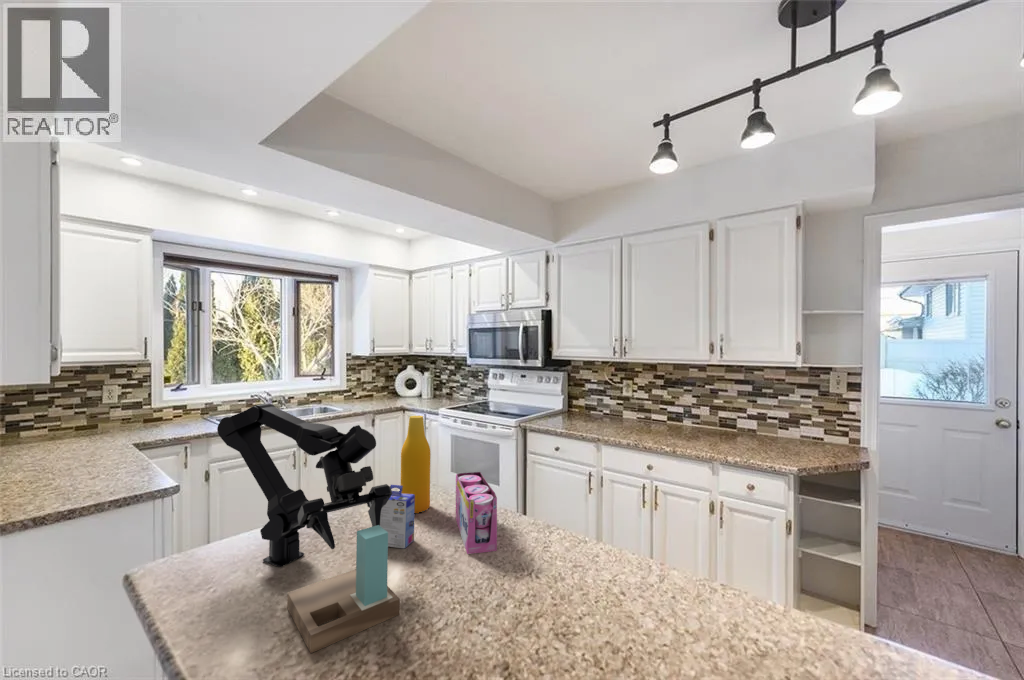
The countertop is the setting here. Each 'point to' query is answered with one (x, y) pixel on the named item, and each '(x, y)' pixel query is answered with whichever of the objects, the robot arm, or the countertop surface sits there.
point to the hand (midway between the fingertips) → (356, 541)
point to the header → (336, 610)
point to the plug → (371, 564)
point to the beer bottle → (416, 464)
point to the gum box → (476, 512)
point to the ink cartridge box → (399, 518)
